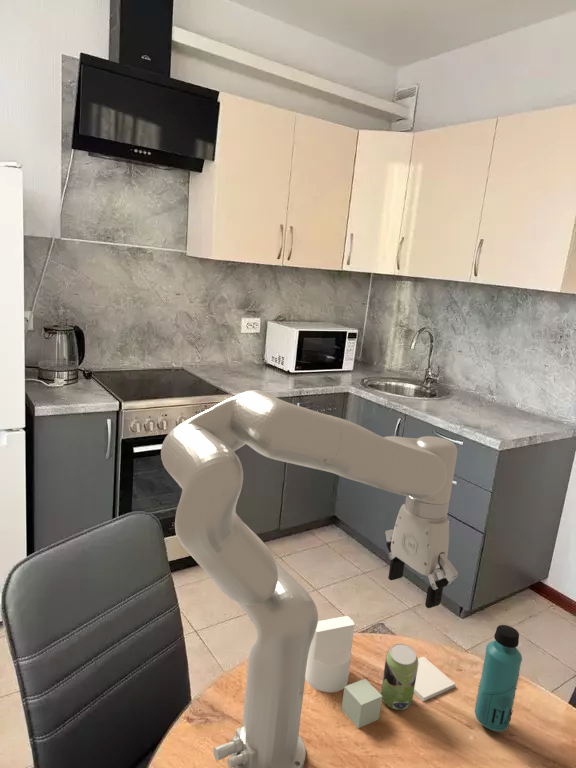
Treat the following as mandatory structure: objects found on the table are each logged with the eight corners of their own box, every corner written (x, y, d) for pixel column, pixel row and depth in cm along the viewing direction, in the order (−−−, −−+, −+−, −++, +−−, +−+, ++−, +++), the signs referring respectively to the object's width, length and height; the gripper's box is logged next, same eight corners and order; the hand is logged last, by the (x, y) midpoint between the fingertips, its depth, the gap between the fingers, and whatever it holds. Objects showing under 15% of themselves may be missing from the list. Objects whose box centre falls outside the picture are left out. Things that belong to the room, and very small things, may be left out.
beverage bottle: (485, 741, 101) (504, 644, 97) (465, 713, 107) (482, 620, 103) (516, 736, 102) (536, 640, 99) (494, 709, 109) (511, 617, 105)
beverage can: (409, 692, 111) (417, 639, 109) (414, 721, 104) (423, 664, 101) (378, 687, 111) (385, 634, 109) (380, 715, 104) (388, 659, 102)
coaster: (423, 701, 109) (423, 697, 109) (392, 671, 116) (392, 668, 116) (454, 687, 114) (455, 683, 114) (422, 659, 121) (423, 656, 121)
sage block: (358, 728, 101) (361, 705, 100) (341, 709, 105) (344, 686, 104) (378, 719, 103) (382, 696, 103) (361, 701, 108) (365, 678, 107)
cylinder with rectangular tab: (316, 696, 107) (323, 641, 105) (296, 665, 115) (302, 614, 113) (356, 686, 111) (363, 633, 109) (334, 657, 119) (341, 607, 117)
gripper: (379, 490, 105) (367, 572, 108) (448, 529, 91) (433, 623, 94) (408, 485, 109) (396, 565, 112) (479, 522, 95) (463, 612, 98)
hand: (413, 591), depth 103 cm, fingers open, 9 cm apart
